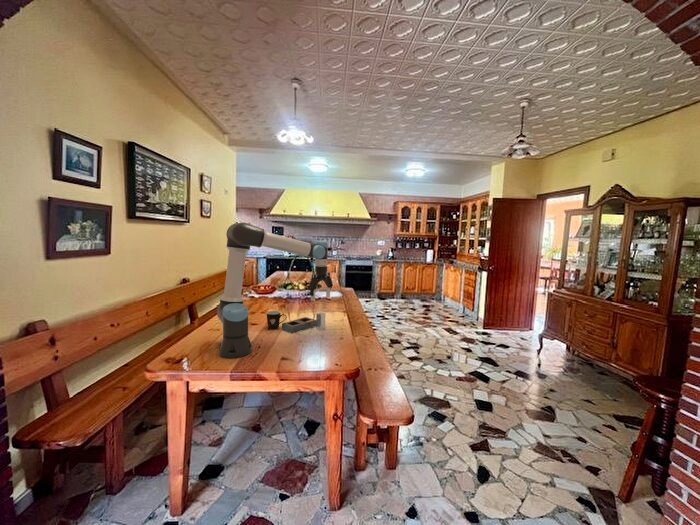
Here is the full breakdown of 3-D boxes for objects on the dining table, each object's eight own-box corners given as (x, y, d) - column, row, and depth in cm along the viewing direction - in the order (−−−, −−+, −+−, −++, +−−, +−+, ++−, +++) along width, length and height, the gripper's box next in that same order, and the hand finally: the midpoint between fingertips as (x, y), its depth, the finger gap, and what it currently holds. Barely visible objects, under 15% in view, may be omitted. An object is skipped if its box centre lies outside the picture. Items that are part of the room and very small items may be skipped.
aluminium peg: (320, 330, 182) (321, 314, 181) (316, 328, 185) (316, 313, 184) (325, 328, 185) (325, 313, 184) (320, 327, 188) (321, 312, 187)
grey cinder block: (292, 333, 175) (292, 326, 174) (281, 329, 181) (281, 322, 181) (316, 326, 190) (316, 319, 190) (305, 322, 197) (305, 316, 196)
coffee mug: (263, 329, 181) (263, 313, 180) (271, 325, 189) (271, 310, 188) (280, 331, 178) (280, 315, 177) (287, 327, 186) (287, 312, 185)
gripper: (311, 267, 169) (310, 303, 172) (338, 264, 189) (338, 297, 191) (302, 266, 174) (301, 301, 176) (330, 263, 194) (329, 295, 196)
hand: (320, 299), depth 184 cm, fingers open, 13 cm apart
